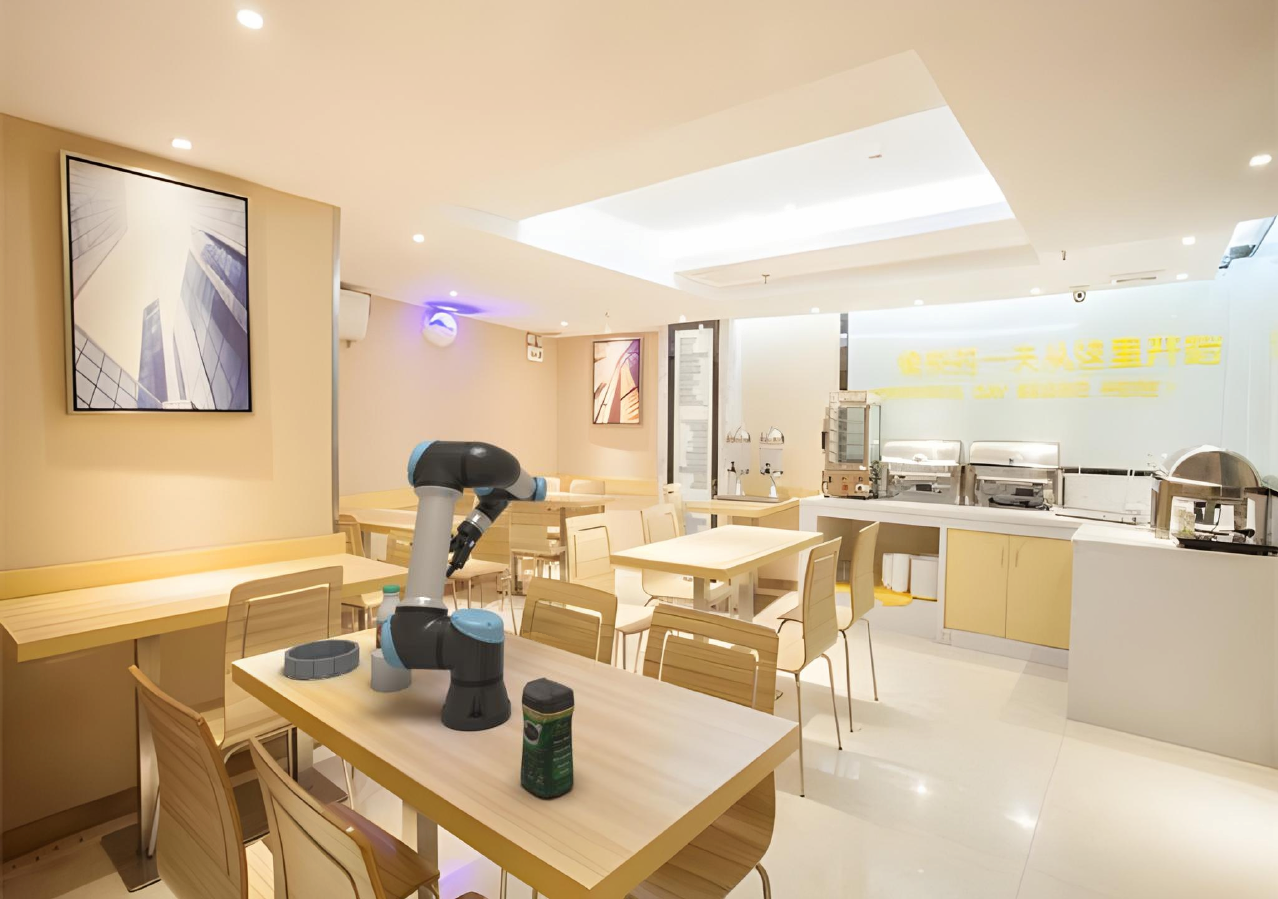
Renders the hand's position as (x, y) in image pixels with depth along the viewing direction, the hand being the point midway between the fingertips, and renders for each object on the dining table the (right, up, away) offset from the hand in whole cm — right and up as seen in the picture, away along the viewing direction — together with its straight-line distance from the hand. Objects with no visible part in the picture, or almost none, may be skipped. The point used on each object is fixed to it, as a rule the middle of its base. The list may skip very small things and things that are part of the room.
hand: (427, 581), depth 192 cm
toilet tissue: (+1, -20, -28) cm, 35 cm away
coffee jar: (+47, -22, -76) cm, 92 cm away
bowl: (-22, -20, -18) cm, 35 cm away
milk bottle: (-8, -20, -7) cm, 23 cm away
